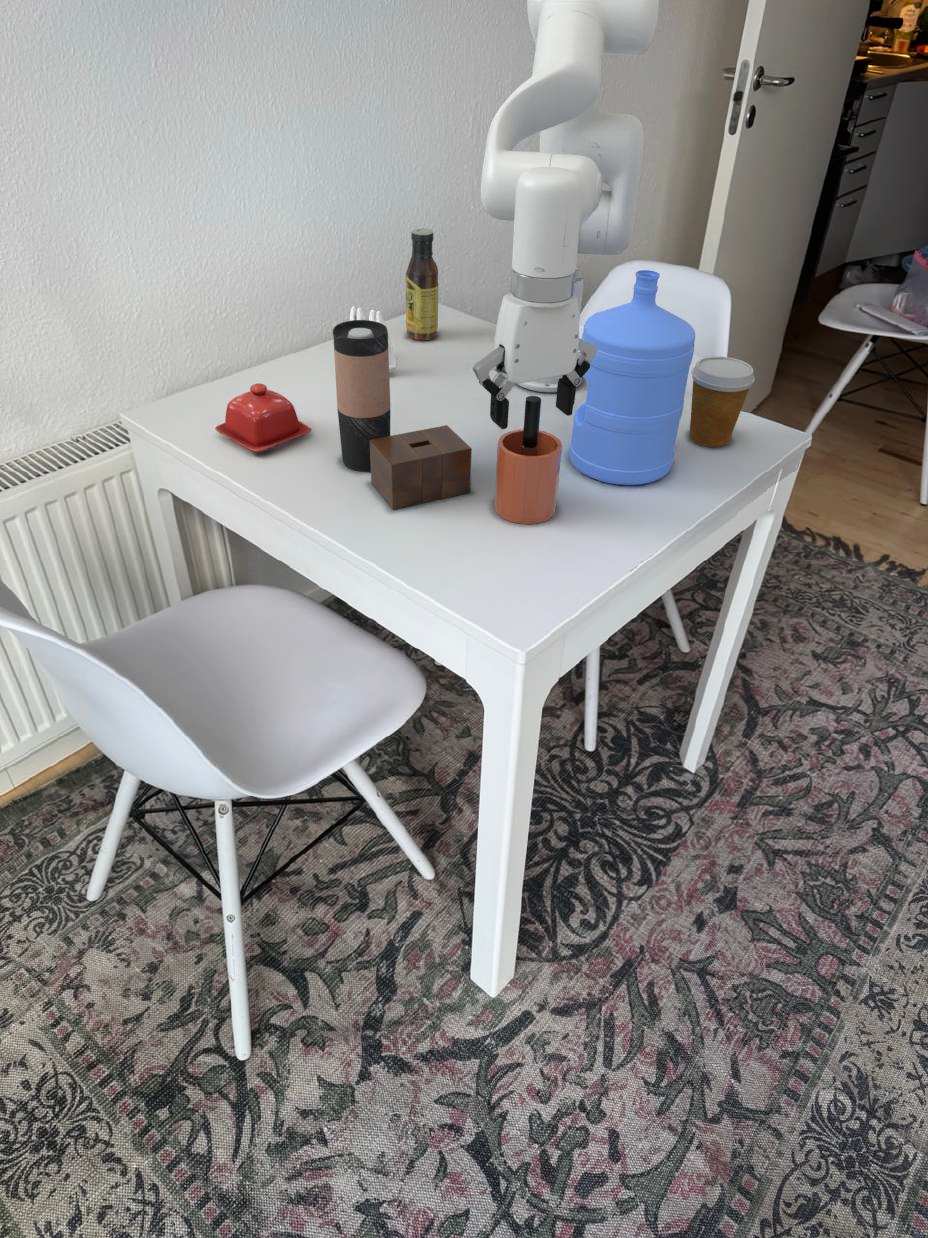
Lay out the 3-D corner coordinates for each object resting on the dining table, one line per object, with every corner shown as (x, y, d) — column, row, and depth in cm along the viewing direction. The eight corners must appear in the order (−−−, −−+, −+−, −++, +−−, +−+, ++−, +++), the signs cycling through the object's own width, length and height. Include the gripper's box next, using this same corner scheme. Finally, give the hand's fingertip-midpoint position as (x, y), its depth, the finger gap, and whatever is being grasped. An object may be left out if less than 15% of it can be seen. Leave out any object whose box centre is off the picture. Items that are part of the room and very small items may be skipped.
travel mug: (399, 453, 136) (397, 323, 123) (379, 476, 130) (374, 342, 118) (353, 445, 137) (346, 316, 125) (332, 467, 132) (322, 334, 119)
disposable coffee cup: (744, 433, 144) (761, 361, 137) (732, 457, 138) (750, 383, 130) (687, 421, 147) (700, 350, 140) (672, 444, 141) (686, 371, 133)
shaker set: (399, 376, 159) (398, 314, 152) (379, 381, 157) (377, 319, 150) (364, 355, 167) (362, 295, 160) (345, 359, 165) (341, 299, 158)
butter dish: (316, 436, 139) (312, 385, 134) (256, 460, 133) (249, 407, 127) (271, 413, 146) (265, 363, 140) (211, 435, 139) (203, 384, 134)
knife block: (446, 468, 132) (446, 424, 128) (470, 492, 127) (471, 448, 123) (371, 484, 128) (369, 439, 124) (392, 510, 122) (391, 464, 118)
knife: (528, 498, 124) (537, 394, 115) (535, 505, 123) (544, 400, 113) (514, 502, 123) (522, 397, 114) (521, 508, 122) (529, 403, 113)
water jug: (691, 464, 135) (730, 275, 118) (630, 499, 126) (662, 300, 109) (610, 430, 144) (634, 250, 127) (547, 461, 135) (565, 271, 118)
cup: (535, 488, 128) (541, 424, 122) (566, 516, 122) (573, 450, 116) (484, 500, 125) (487, 435, 119) (513, 529, 119) (517, 462, 113)
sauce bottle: (405, 330, 177) (404, 225, 165) (436, 330, 178) (437, 225, 166) (406, 342, 172) (405, 234, 160) (438, 342, 173) (439, 234, 161)
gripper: (587, 266, 111) (573, 395, 122) (462, 284, 105) (459, 418, 115) (621, 285, 106) (603, 417, 116) (492, 304, 99) (486, 442, 110)
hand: (532, 417), depth 116 cm, fingers open, 9 cm apart
